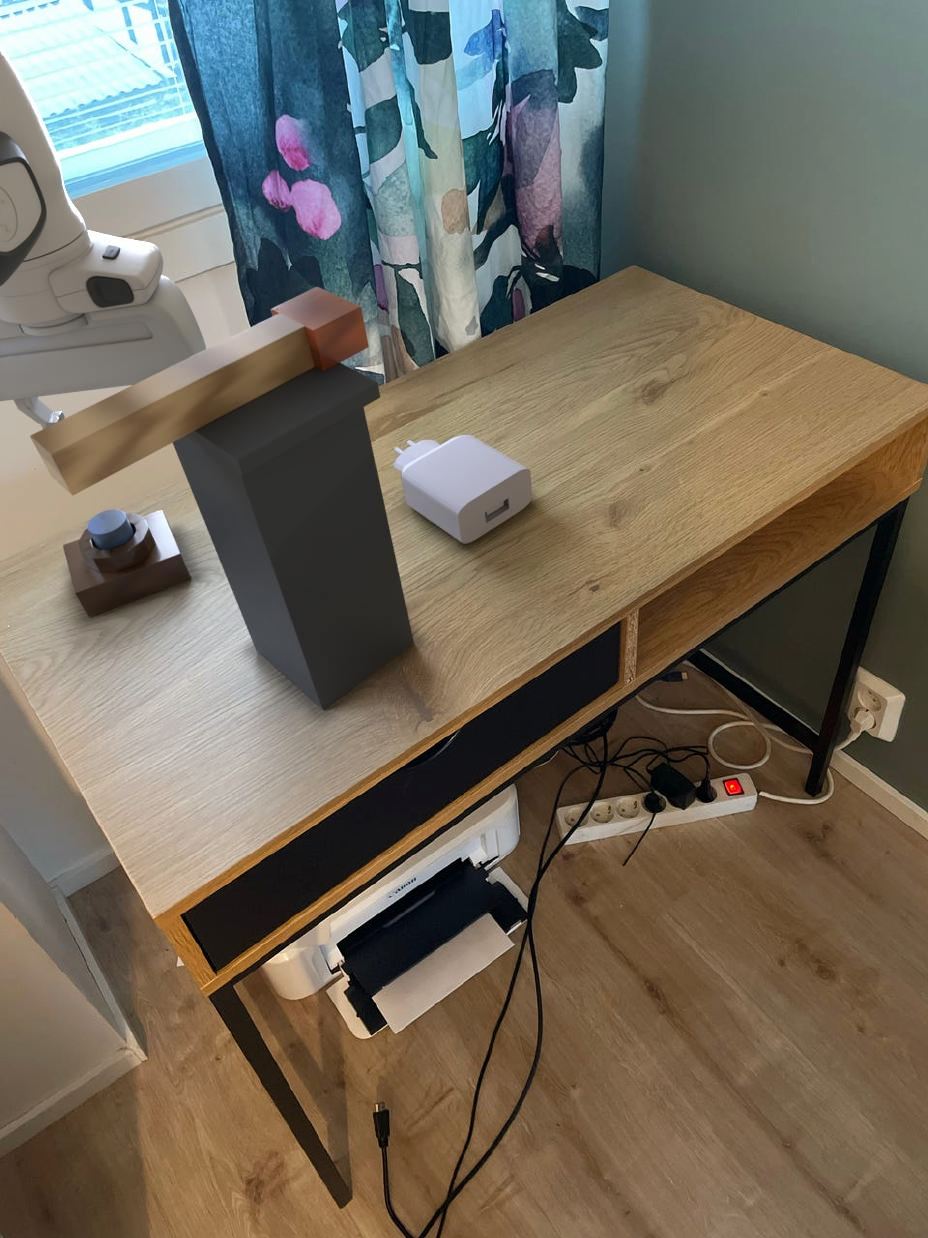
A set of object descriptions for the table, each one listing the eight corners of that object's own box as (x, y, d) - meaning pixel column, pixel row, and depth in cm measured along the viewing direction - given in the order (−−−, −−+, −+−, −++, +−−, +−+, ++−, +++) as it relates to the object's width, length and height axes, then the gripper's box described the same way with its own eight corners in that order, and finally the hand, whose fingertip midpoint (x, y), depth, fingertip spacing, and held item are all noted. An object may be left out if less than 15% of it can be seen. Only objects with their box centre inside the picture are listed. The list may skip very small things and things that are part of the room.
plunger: (99, 555, 83) (90, 539, 82) (93, 534, 86) (84, 517, 84) (137, 541, 84) (129, 525, 83) (130, 521, 86) (121, 504, 85)
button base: (88, 617, 84) (66, 579, 81) (76, 568, 90) (54, 530, 86) (191, 578, 87) (174, 539, 83) (173, 533, 92) (156, 494, 88)
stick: (80, 503, 52) (58, 461, 50) (44, 470, 55) (22, 429, 53) (369, 347, 62) (361, 306, 60) (326, 325, 65) (317, 286, 62)
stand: (329, 724, 72) (237, 460, 54) (241, 645, 80) (135, 389, 61) (430, 648, 77) (377, 381, 58) (339, 580, 84) (267, 323, 66)
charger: (438, 445, 98) (533, 503, 89) (371, 483, 94) (462, 548, 86) (432, 407, 95) (530, 464, 86) (362, 446, 91) (457, 509, 82)
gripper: (-104, 312, 67) (-15, 462, 77) (163, 278, 67) (219, 434, 76) (-73, 275, 72) (8, 422, 82) (177, 243, 71) (228, 395, 81)
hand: (112, 428), depth 79 cm, fingers open, 8 cm apart
